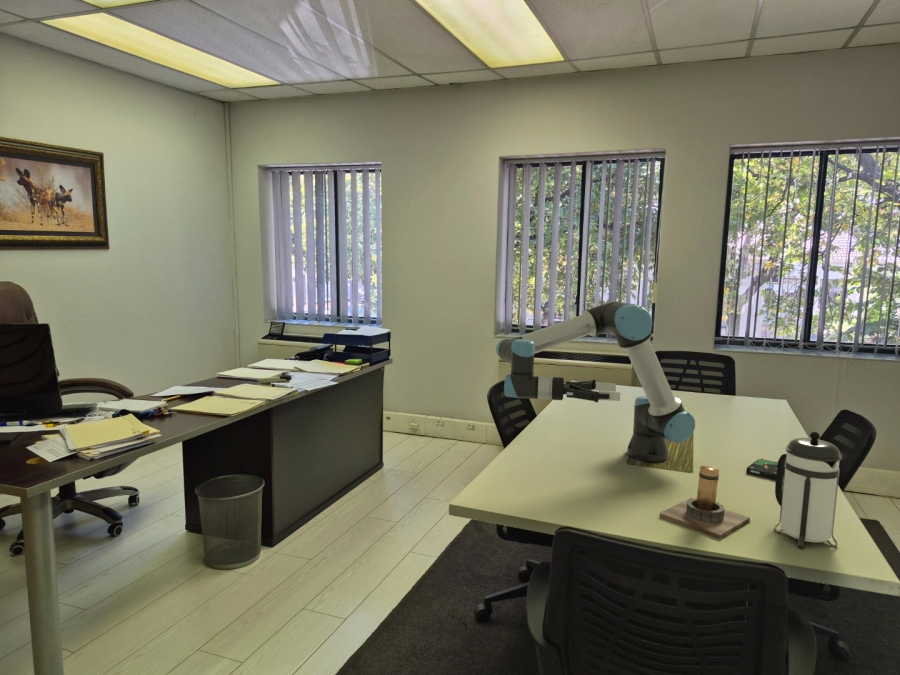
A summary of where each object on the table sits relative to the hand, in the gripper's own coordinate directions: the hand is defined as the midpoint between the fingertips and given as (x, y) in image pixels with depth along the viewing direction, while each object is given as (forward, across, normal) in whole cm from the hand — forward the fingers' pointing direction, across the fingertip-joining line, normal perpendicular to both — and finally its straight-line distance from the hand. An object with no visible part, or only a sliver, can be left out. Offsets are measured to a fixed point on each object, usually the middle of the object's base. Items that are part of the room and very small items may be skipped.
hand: (618, 391), depth 194 cm
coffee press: (+47, +27, -32) cm, 63 cm away
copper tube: (+24, +20, -31) cm, 44 cm away
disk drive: (+56, -26, -33) cm, 70 cm away
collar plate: (+24, +20, -32) cm, 45 cm away
